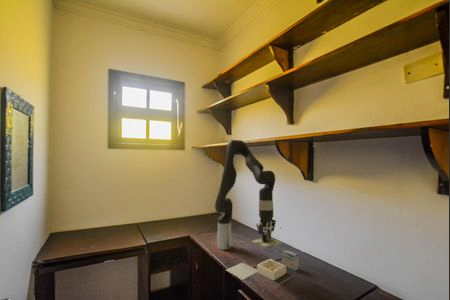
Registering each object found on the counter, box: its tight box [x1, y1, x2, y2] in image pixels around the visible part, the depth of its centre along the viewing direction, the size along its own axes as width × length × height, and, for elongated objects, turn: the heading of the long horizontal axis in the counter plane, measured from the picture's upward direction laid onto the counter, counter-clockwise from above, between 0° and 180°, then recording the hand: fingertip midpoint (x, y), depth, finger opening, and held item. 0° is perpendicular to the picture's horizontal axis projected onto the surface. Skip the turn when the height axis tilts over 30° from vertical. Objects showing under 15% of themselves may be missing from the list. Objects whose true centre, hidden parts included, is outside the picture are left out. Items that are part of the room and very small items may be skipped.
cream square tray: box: [256, 258, 287, 281], centre depth 124 cm, size 11×11×4 cm
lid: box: [251, 231, 282, 250], centre depth 124 cm, size 11×11×6 cm
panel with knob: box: [225, 262, 257, 281], centre depth 126 cm, size 13×13×1 cm
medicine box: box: [281, 249, 299, 272], centre depth 130 cm, size 8×4×9 cm, turn 45°
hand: (266, 240), depth 124 cm, fingers closed on lid, 3 cm apart
